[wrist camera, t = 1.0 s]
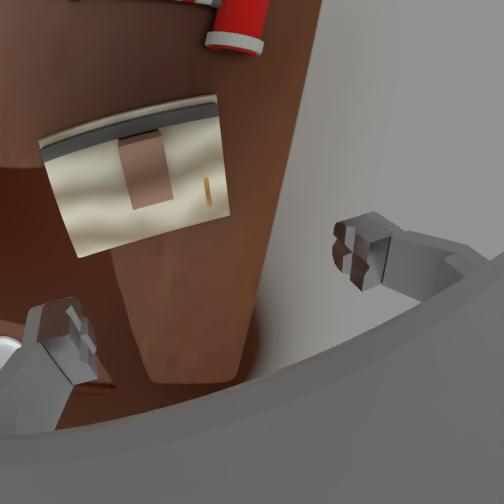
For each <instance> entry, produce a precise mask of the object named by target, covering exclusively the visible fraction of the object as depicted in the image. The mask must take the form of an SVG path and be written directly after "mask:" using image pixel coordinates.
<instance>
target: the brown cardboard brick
mask: <svg viewBox="0 0 504 504" xmlns="http://www.w3.org/2000/svg"><path fill="white" fill-rule="evenodd" d="M118 151H119V156H120V160H121V164H122V169H123V173H124V177H125V181H126V185H127V189H128V193H129V197H130V200H131V204H132V208H133V210H136V209H139V208H143V207H146V206H150V205H154V204H157V203H161V202H165V201H168V200H172V199H174V197H173V192H172V187H171V182H170V177H169V172H168V166H167V161H166V155H165V150H164V144H163V138H162V135H161V133H160V132H159V130H158V129H154V130H150V131H146V132H142V133H138V134H134V135H130V136H126V137H123V138H119V139H118Z"/></svg>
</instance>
